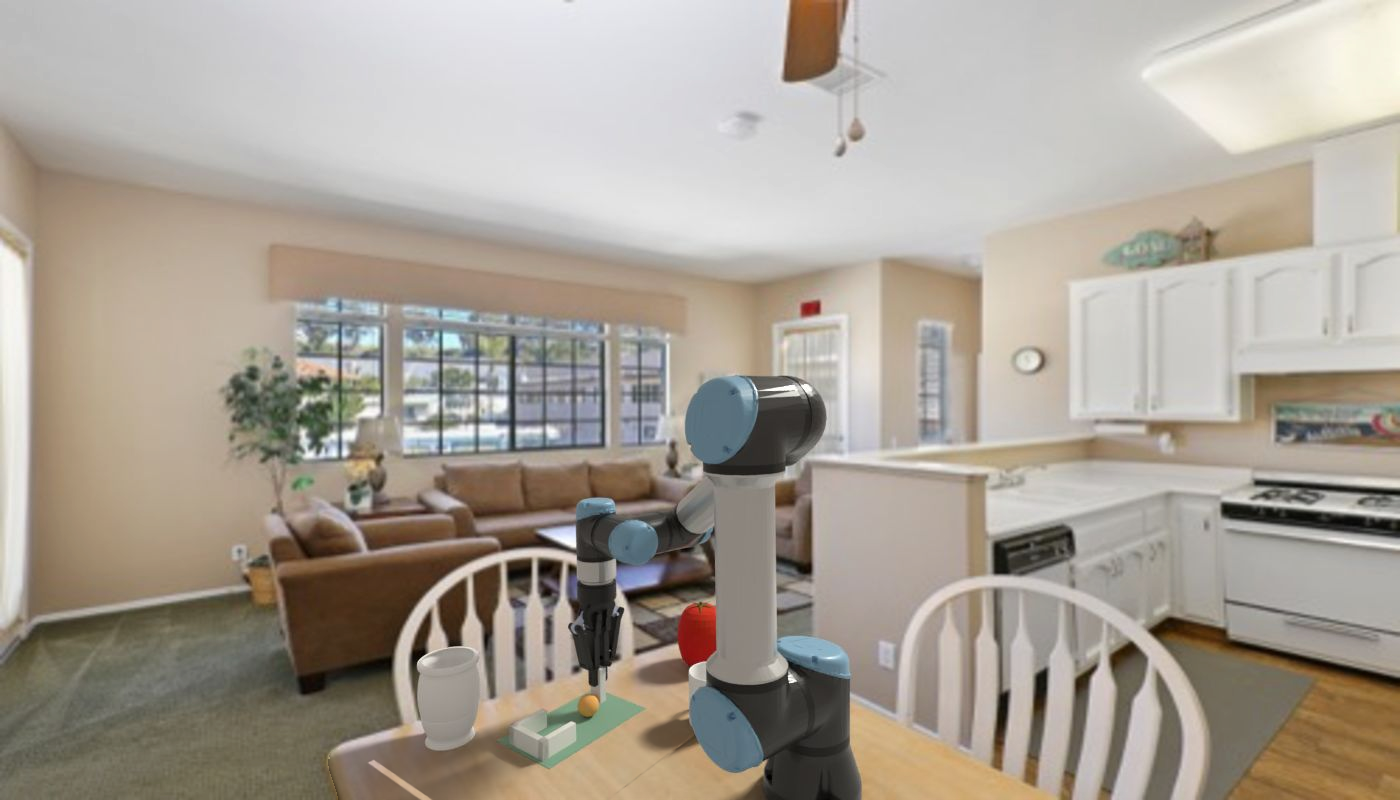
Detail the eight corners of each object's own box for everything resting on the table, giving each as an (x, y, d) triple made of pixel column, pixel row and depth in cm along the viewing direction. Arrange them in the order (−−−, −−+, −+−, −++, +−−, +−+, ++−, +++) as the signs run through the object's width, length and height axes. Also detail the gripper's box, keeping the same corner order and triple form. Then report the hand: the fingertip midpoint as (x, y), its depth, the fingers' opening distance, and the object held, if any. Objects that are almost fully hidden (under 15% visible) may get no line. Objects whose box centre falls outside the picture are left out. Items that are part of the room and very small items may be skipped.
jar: (456, 718, 122) (454, 641, 122) (493, 733, 117) (492, 652, 116) (405, 746, 113) (403, 662, 113) (444, 764, 108) (442, 676, 107)
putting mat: (646, 711, 124) (645, 708, 124) (549, 772, 105) (549, 768, 105) (595, 690, 133) (595, 688, 133) (496, 744, 113) (496, 741, 113)
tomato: (708, 648, 153) (707, 590, 153) (740, 664, 144) (740, 602, 144) (665, 664, 145) (665, 602, 145) (697, 682, 136) (697, 616, 136)
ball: (605, 697, 123) (591, 695, 120) (599, 720, 121) (585, 719, 118) (591, 692, 125) (576, 690, 122) (585, 714, 124) (570, 713, 121)
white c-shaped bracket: (576, 741, 113) (575, 723, 113) (543, 761, 107) (542, 742, 107) (542, 725, 119) (542, 708, 118) (509, 743, 113) (509, 725, 113)
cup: (688, 736, 115) (688, 681, 115) (689, 703, 127) (689, 653, 127) (734, 736, 115) (734, 681, 115) (731, 703, 127) (731, 652, 127)
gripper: (607, 567, 131) (608, 681, 131) (557, 584, 120) (559, 707, 121) (634, 574, 126) (635, 692, 127) (584, 592, 116) (586, 720, 117)
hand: (598, 699), depth 124 cm, fingers closed
